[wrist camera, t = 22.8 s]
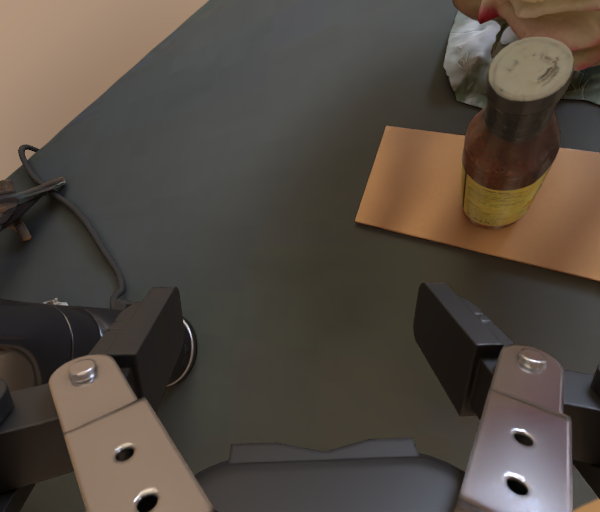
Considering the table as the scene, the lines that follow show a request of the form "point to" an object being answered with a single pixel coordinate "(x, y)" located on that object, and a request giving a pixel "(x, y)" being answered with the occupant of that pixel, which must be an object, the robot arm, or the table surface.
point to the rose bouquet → (515, 26)
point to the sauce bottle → (514, 131)
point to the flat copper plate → (463, 233)
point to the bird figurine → (21, 204)
